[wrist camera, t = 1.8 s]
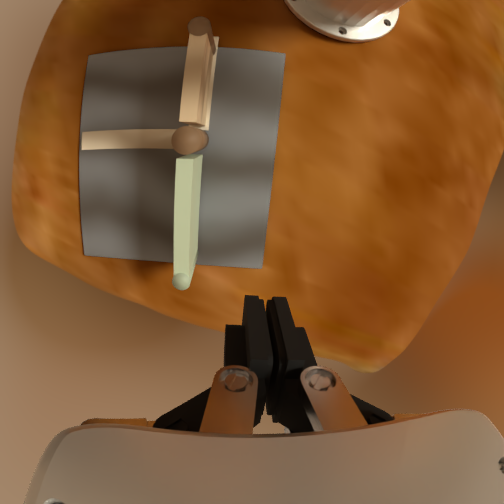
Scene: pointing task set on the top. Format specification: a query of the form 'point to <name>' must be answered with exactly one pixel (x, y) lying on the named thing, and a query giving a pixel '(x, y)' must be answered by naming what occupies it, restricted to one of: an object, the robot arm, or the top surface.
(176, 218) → the bar
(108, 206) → the base
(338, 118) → the top surface
